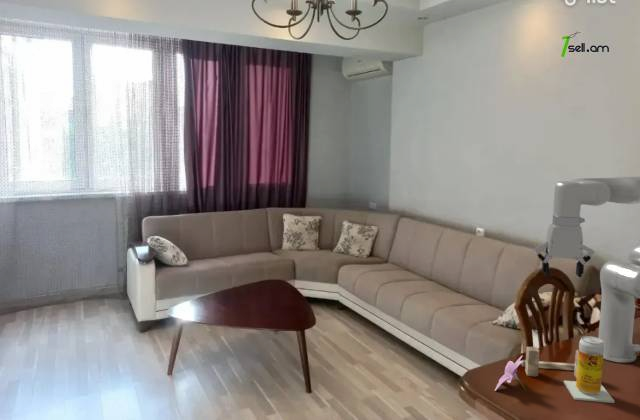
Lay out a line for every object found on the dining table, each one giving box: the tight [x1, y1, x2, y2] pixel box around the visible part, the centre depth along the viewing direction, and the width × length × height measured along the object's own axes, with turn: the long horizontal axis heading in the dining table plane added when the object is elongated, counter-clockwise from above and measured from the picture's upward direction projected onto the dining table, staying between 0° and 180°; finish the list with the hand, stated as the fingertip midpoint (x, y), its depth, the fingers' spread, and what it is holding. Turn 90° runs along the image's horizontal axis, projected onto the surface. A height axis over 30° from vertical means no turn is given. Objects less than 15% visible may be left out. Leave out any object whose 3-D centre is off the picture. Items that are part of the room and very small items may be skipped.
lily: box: [494, 355, 527, 392], centre depth 143 cm, size 12×12×10 cm
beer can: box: [576, 335, 604, 395], centre depth 140 cm, size 6×6×15 cm
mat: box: [563, 380, 615, 404], centre depth 141 cm, size 10×10×1 cm
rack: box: [521, 346, 579, 380], centre depth 153 cm, size 17×8×8 cm, turn 80°
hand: (562, 275), depth 157 cm, fingers open, 9 cm apart
